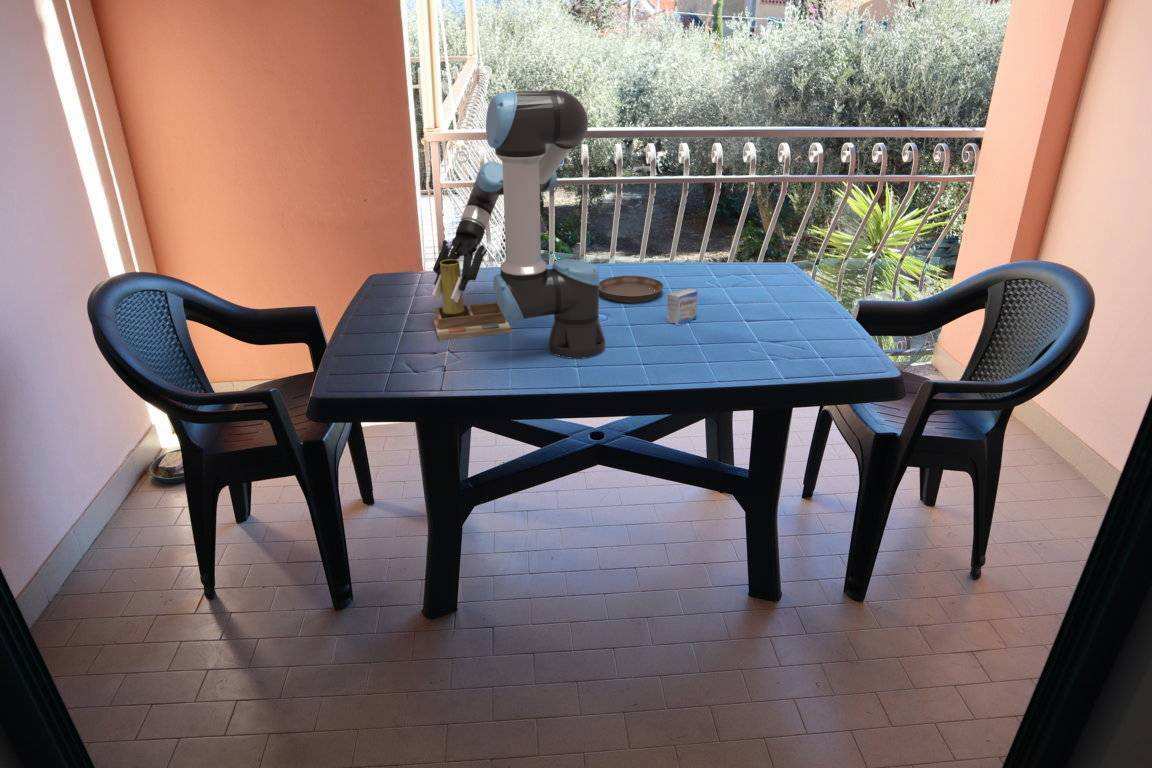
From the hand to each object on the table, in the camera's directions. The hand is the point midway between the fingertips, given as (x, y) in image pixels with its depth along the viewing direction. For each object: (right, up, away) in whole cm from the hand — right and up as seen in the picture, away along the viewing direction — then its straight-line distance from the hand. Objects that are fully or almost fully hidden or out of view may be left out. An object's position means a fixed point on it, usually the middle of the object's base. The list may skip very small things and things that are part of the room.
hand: (444, 298), depth 216 cm
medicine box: (+66, -5, +10) cm, 67 cm away
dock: (+7, -7, +6) cm, 12 cm away
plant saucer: (+53, +4, +31) cm, 62 cm away
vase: (+2, -3, +5) cm, 6 cm away
